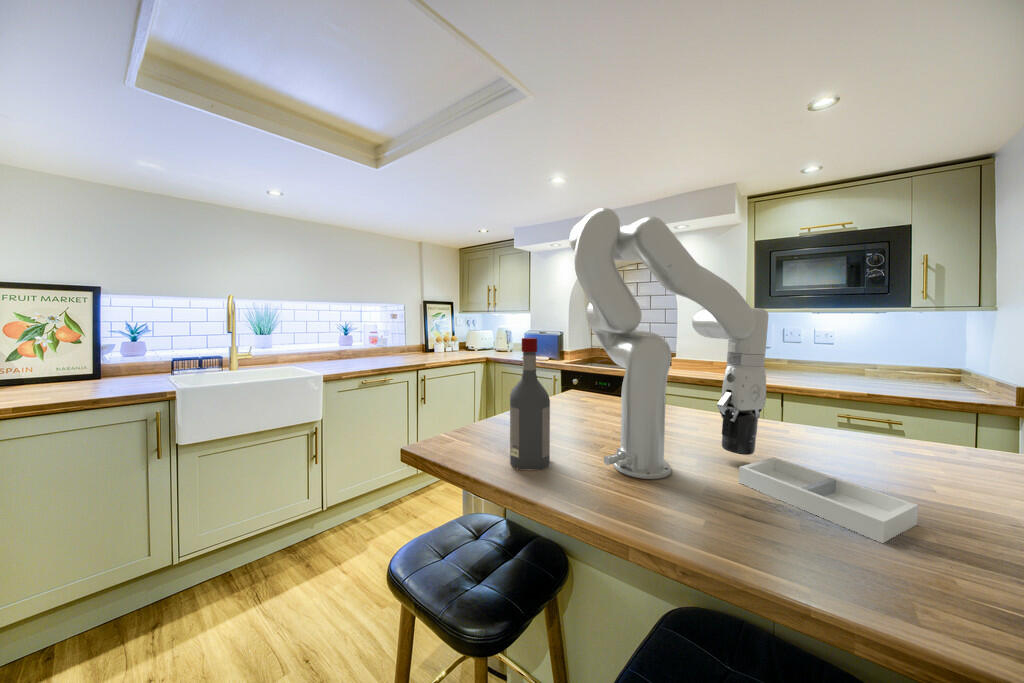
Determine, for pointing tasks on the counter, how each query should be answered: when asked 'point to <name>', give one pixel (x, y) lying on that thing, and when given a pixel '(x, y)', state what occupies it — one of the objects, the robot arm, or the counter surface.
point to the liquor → (529, 415)
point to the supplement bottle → (742, 434)
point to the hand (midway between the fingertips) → (739, 434)
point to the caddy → (831, 498)
